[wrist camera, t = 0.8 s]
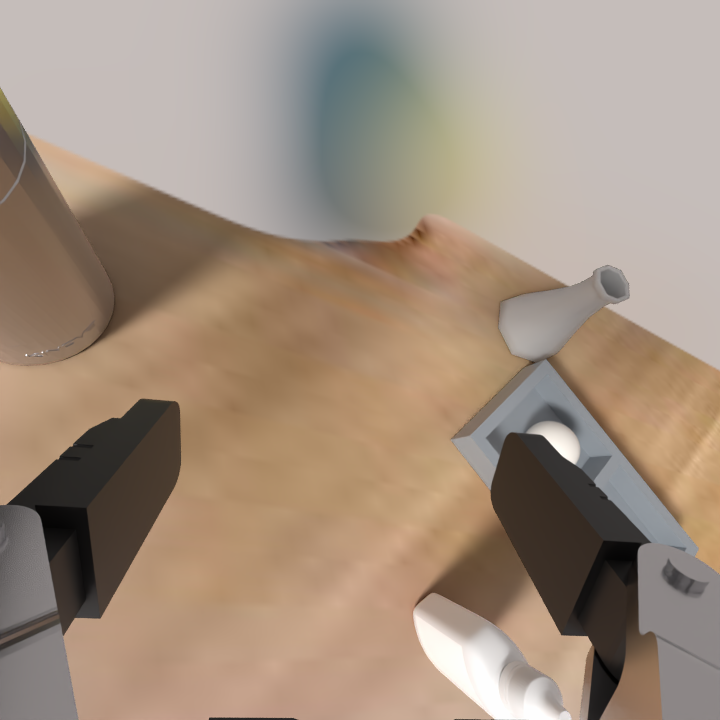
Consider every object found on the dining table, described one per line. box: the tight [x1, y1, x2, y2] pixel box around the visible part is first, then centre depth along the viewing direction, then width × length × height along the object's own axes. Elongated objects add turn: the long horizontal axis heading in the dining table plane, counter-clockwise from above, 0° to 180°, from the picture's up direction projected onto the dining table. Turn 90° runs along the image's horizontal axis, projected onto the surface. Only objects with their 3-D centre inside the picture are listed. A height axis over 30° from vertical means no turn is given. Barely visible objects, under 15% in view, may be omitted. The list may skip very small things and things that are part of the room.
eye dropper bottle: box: [413, 593, 572, 720], centre depth 24 cm, size 4×6×12 cm
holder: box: [451, 359, 699, 557], centre depth 35 cm, size 21×11×3 cm, turn 40°
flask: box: [498, 265, 629, 363], centre depth 36 cm, size 7×7×10 cm
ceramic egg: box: [526, 421, 580, 465], centre depth 34 cm, size 4×4×4 cm
